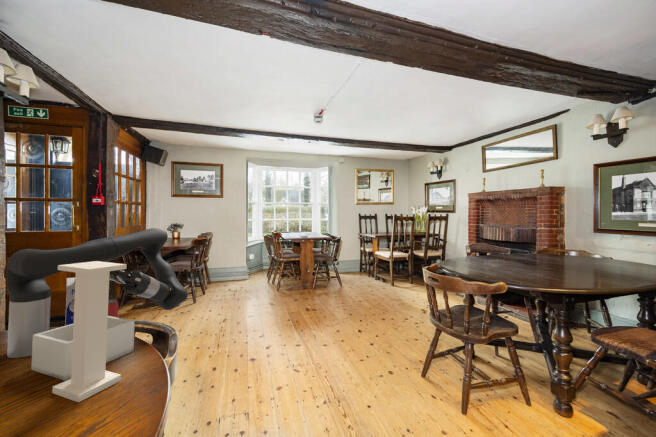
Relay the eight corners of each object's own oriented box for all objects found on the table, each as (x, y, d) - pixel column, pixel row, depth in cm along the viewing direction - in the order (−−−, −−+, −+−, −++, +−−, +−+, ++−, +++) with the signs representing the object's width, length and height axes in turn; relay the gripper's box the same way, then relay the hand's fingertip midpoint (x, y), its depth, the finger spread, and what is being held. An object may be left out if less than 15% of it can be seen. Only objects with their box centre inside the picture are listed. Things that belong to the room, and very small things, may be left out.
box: (31, 369, 81) (32, 334, 81) (102, 343, 99) (103, 314, 99) (64, 380, 76) (66, 343, 76) (133, 351, 94) (134, 321, 94)
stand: (49, 392, 71) (55, 265, 72) (93, 372, 81) (98, 260, 81) (81, 403, 67) (87, 269, 68) (123, 381, 77) (128, 264, 77)
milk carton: (87, 324, 116) (89, 275, 116) (89, 329, 111) (91, 278, 111) (64, 328, 111) (66, 277, 111) (64, 333, 106) (67, 280, 106)
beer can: (105, 336, 104) (106, 304, 105) (91, 334, 106) (92, 302, 106) (121, 330, 111) (123, 299, 111) (108, 328, 112) (109, 298, 112)
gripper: (133, 273, 108) (91, 255, 94) (161, 277, 103) (122, 258, 89) (122, 292, 104) (77, 277, 90) (151, 297, 99) (108, 281, 86)
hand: (100, 268), depth 90 cm, fingers open, 5 cm apart
